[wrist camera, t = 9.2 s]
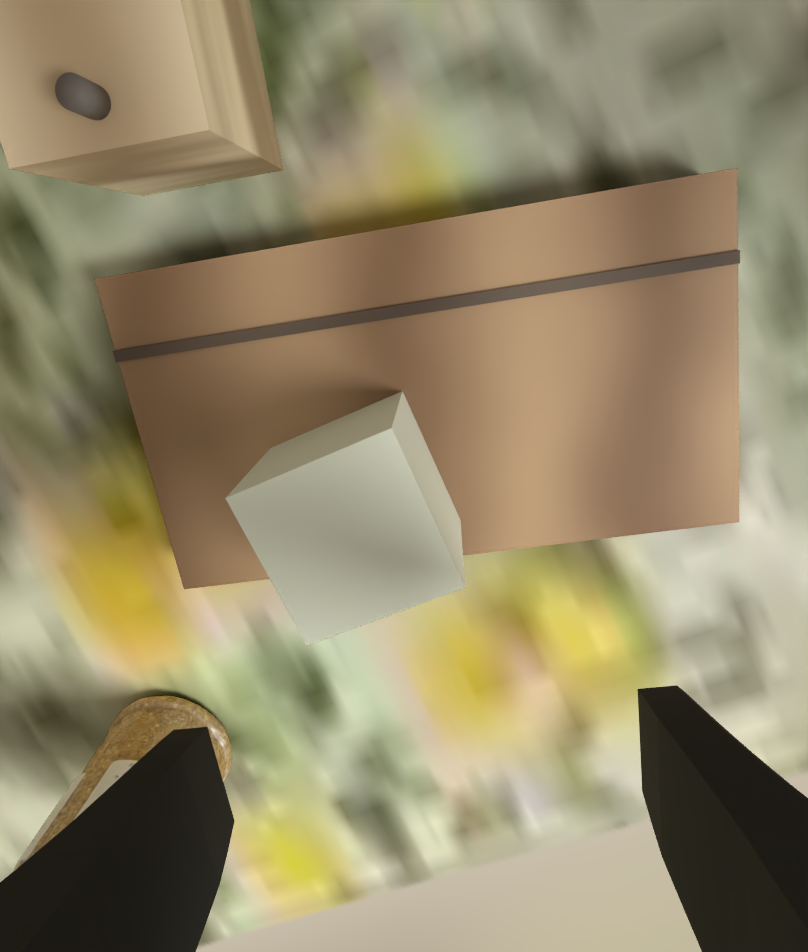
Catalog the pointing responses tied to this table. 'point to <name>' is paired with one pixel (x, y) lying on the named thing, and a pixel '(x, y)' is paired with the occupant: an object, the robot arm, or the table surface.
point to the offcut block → (352, 521)
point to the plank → (458, 365)
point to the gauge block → (134, 93)
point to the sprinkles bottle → (129, 756)
